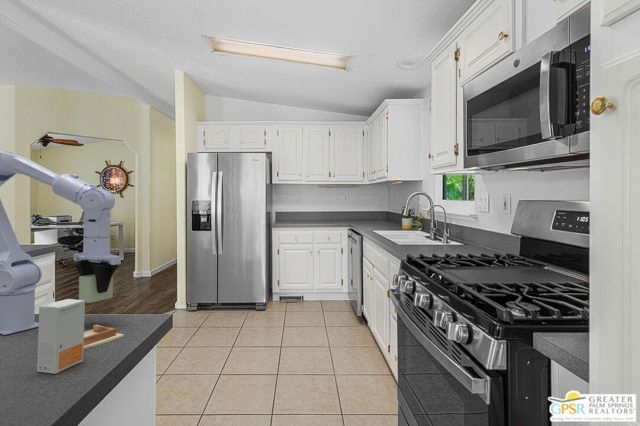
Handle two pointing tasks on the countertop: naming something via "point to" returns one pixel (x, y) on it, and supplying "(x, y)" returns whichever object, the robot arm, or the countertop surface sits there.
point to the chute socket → (99, 336)
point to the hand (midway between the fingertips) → (96, 291)
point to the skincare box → (60, 335)
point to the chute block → (93, 289)
